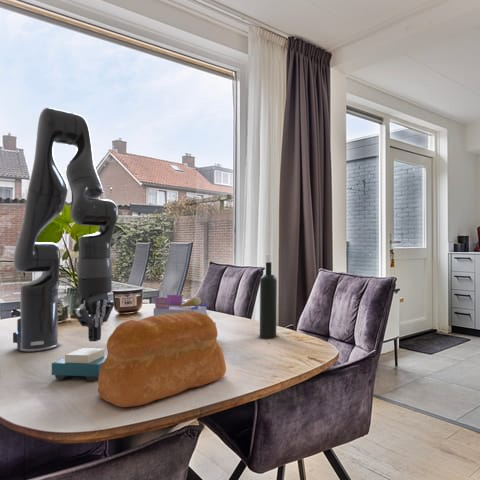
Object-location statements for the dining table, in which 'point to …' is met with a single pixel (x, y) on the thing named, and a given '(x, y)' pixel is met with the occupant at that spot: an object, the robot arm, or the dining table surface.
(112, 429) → the dining table surface
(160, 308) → the toy vehicle
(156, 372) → the bread
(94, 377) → the teal block
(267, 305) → the wine bottle
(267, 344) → the dining table surface
